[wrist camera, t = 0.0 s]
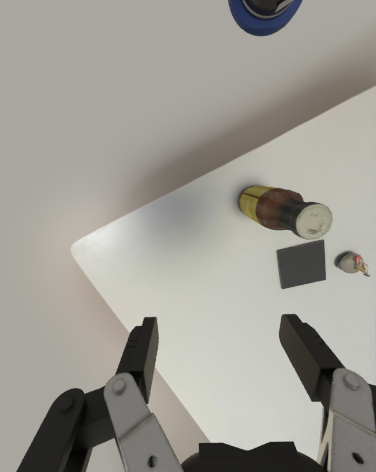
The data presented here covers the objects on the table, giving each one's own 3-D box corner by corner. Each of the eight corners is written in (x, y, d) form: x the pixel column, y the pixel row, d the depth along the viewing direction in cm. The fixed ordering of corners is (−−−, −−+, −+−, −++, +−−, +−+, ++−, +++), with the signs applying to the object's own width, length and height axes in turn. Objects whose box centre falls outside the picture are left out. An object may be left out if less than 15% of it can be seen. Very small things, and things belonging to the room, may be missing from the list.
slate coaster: (276, 250, 43) (277, 251, 43) (322, 239, 42) (324, 240, 42) (281, 288, 46) (282, 289, 46) (324, 278, 46) (326, 279, 45)
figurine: (332, 268, 45) (353, 282, 39) (337, 250, 43) (359, 262, 38) (355, 268, 45) (379, 282, 39) (361, 250, 43) (387, 262, 38)
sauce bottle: (253, 221, 41) (309, 264, 22) (230, 204, 40) (269, 234, 21) (275, 196, 39) (355, 219, 21) (252, 177, 38) (314, 183, 19)
